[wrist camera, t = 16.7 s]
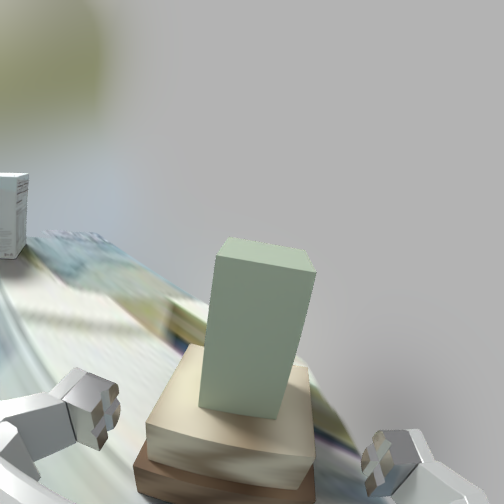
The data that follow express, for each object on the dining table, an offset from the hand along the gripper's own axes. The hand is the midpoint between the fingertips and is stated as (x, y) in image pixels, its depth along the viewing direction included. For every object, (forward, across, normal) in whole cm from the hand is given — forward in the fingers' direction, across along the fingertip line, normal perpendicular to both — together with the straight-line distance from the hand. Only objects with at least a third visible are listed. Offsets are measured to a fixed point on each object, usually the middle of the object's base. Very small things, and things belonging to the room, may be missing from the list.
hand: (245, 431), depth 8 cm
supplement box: (+40, -60, -15) cm, 73 cm away
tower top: (+10, 0, -11) cm, 15 cm away
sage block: (+10, 0, -7) cm, 13 cm away
